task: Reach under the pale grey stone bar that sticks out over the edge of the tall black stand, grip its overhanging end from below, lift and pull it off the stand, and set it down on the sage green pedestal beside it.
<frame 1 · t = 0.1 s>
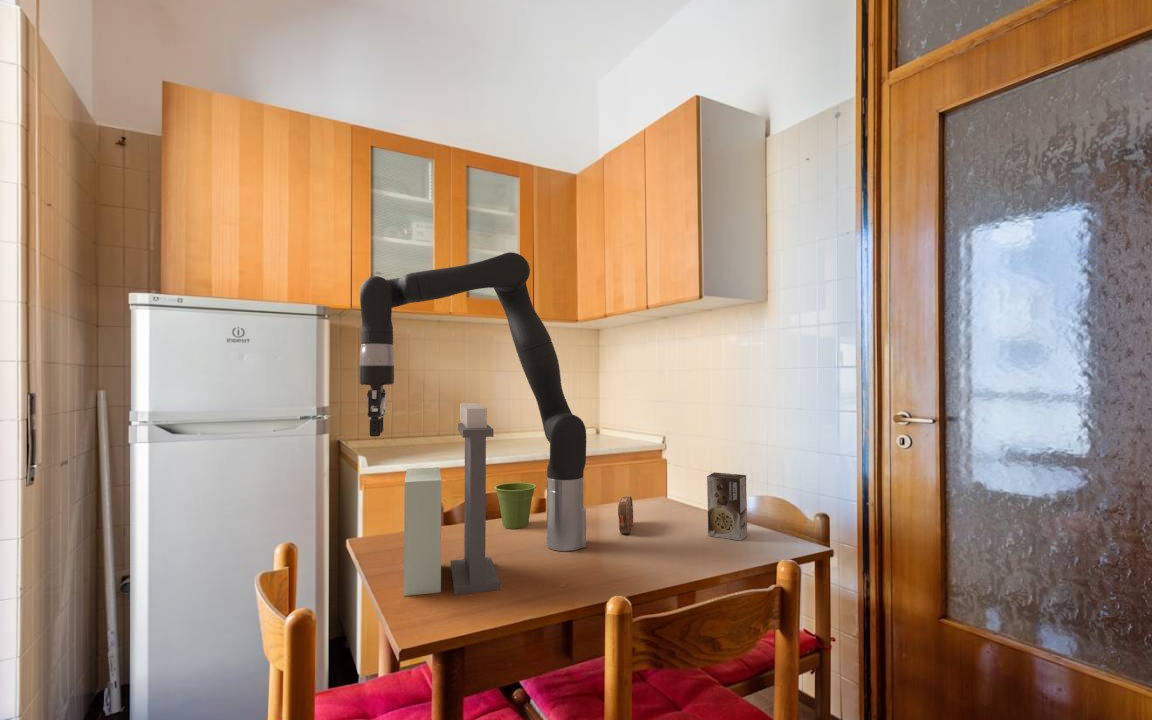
hand: (376, 434, 126), 29 cm above the table, tool pointing down, fingers open, 8 cm apart
pedestal: (422, 579, 115), on the table
plant pot: (515, 526, 156), on the table
tin: (625, 530, 153), on the table
tall stand: (474, 577, 116), on the table
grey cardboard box: (727, 536, 146), on the table
stone bar: (472, 423, 123), point 32 cm above the table, touching tall stand
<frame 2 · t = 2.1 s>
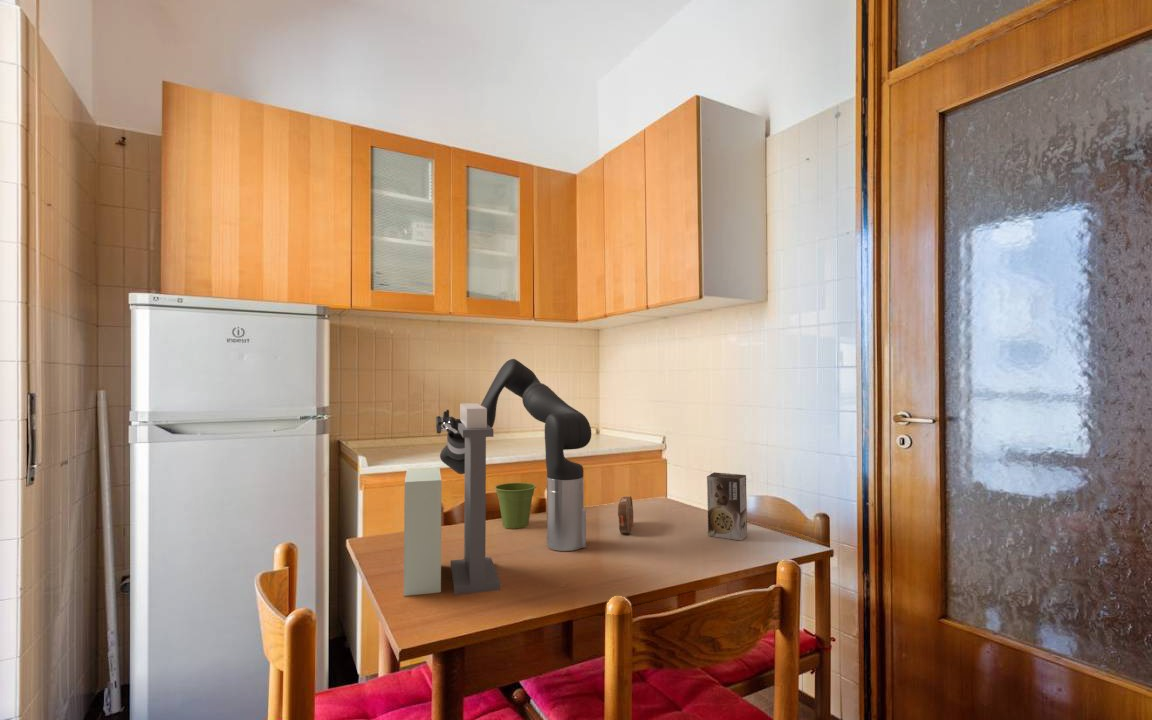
hand: (464, 412, 146), 33 cm above the table, tool pointing upward, fingers open, 8 cm apart
nothing on the table moved.
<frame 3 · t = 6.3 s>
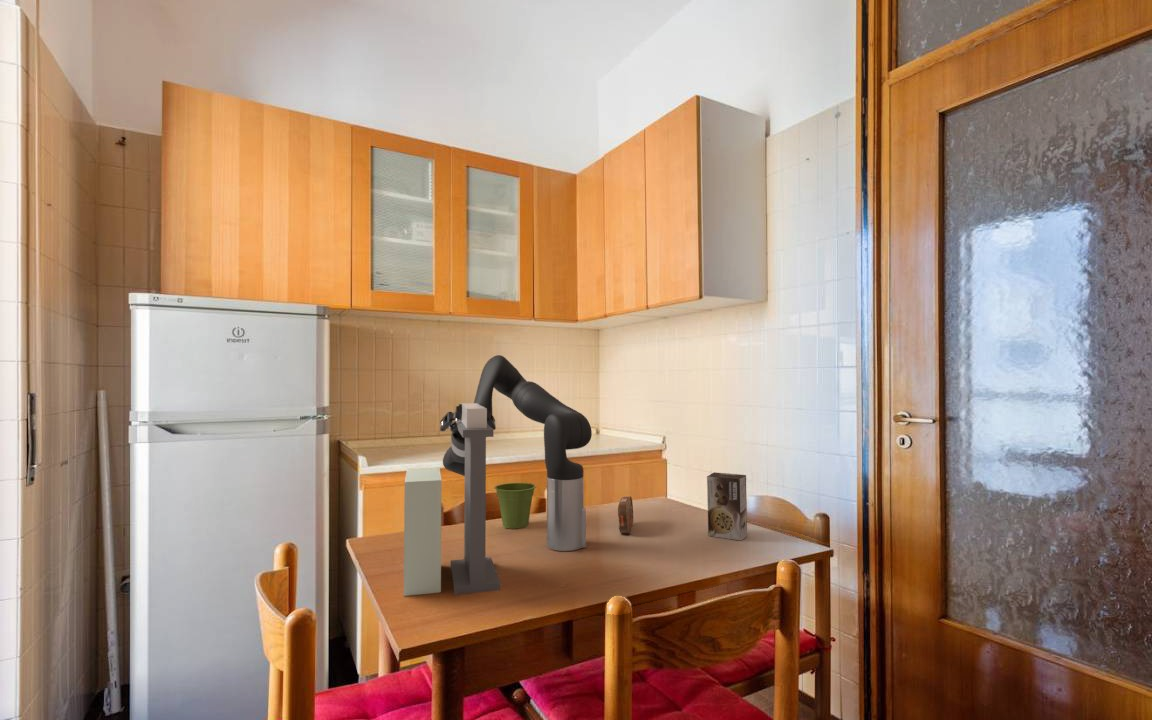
hand: (471, 407, 127), 35 cm above the table, tool pointing upward, fingers closed on stone bar, 4 cm apart
stone bar: (472, 423, 122), point 32 cm above the table, touching gripper, tall stand
everything else where it was.
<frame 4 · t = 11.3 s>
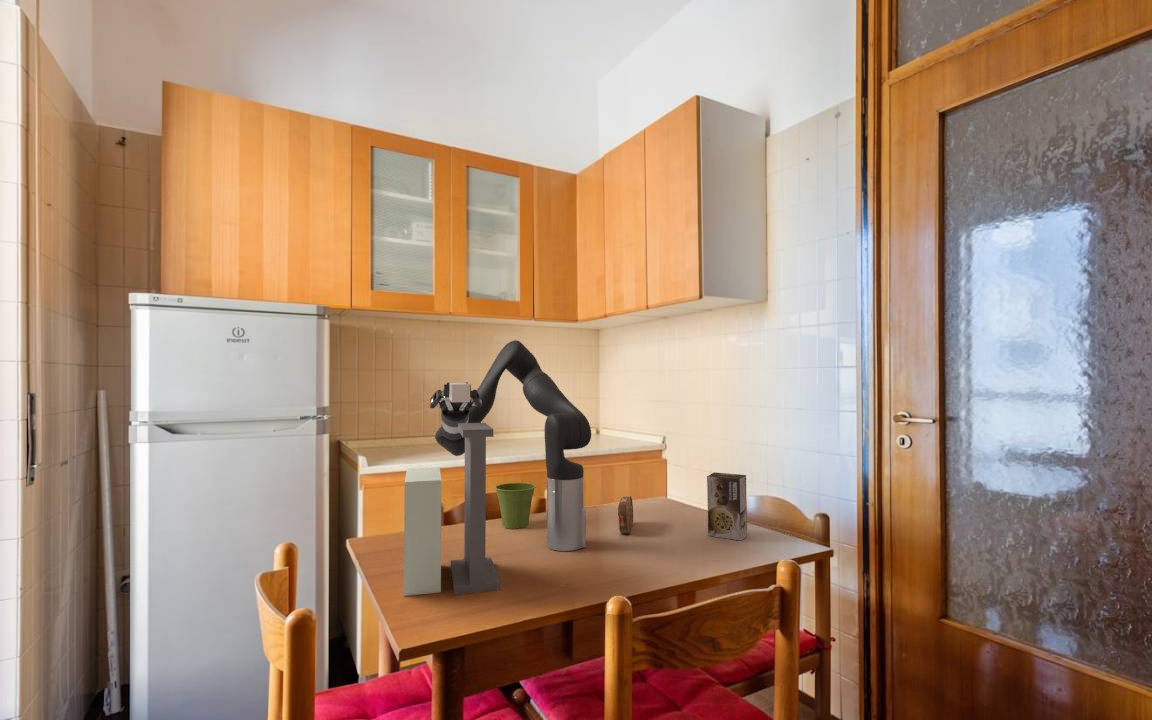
hand: (457, 385, 137), 40 cm above the table, tool pointing upward, fingers closed on stone bar, 4 cm apart
stone bar: (458, 399, 133), point 37 cm above the table, touching gripper
everything else where it was.
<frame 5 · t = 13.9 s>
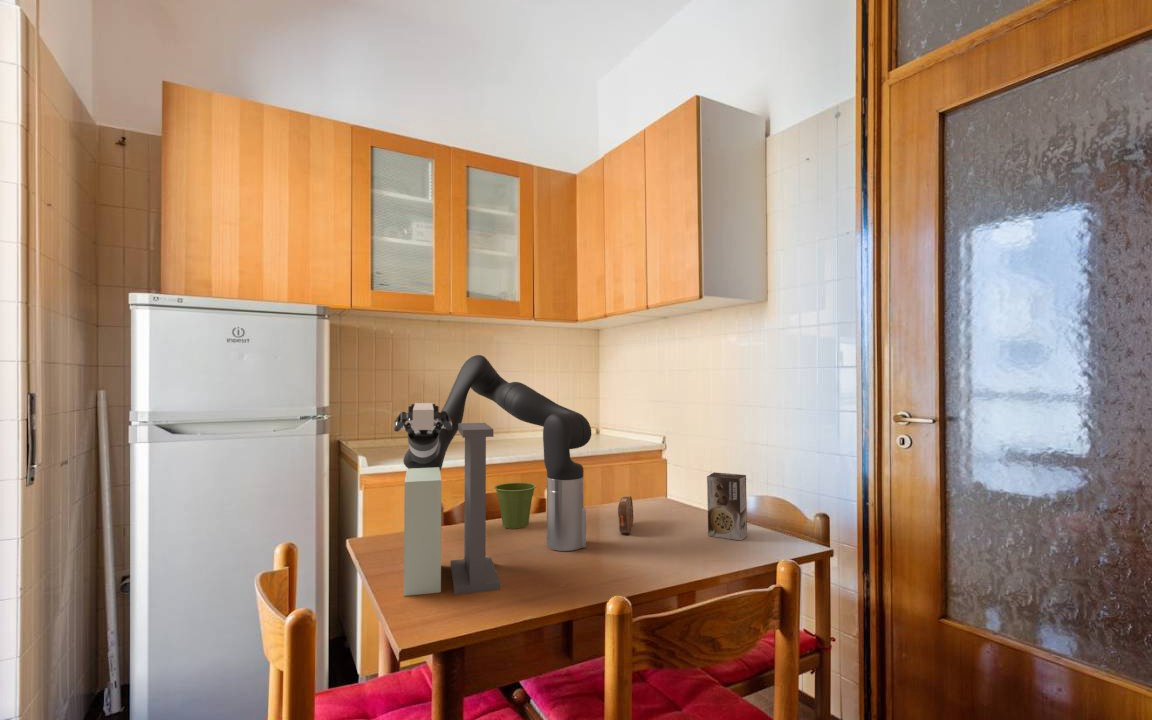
hand: (423, 407, 124), 35 cm above the table, tool pointing upward, fingers closed on stone bar, 4 cm apart
stone bar: (423, 424, 120), point 32 cm above the table, touching gripper
everything else where it was.
when the fingers open (27 cm above the table, at t = 16.1 s): stone bar drops 2 cm, resting on pedestal.
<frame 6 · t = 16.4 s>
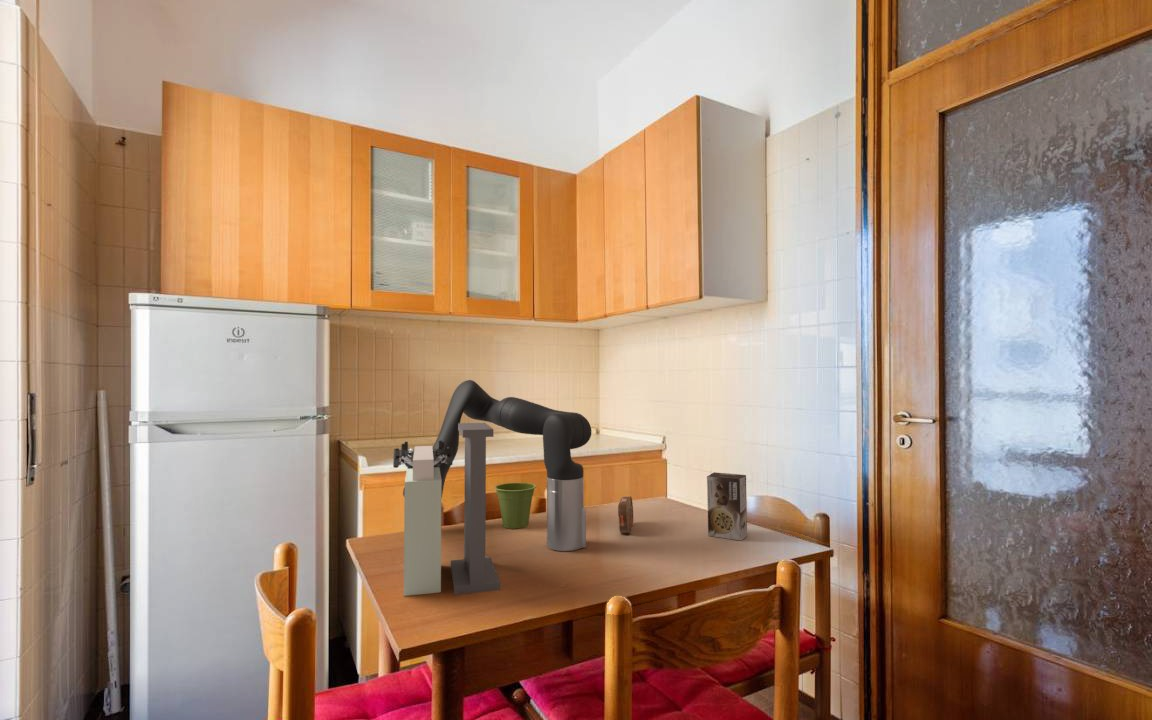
hand: (423, 444, 124), 27 cm above the table, tool pointing upward, fingers open, 7 cm apart
stone bar: (423, 470, 120), point 22 cm above the table, touching pedestal
everything else where it was.
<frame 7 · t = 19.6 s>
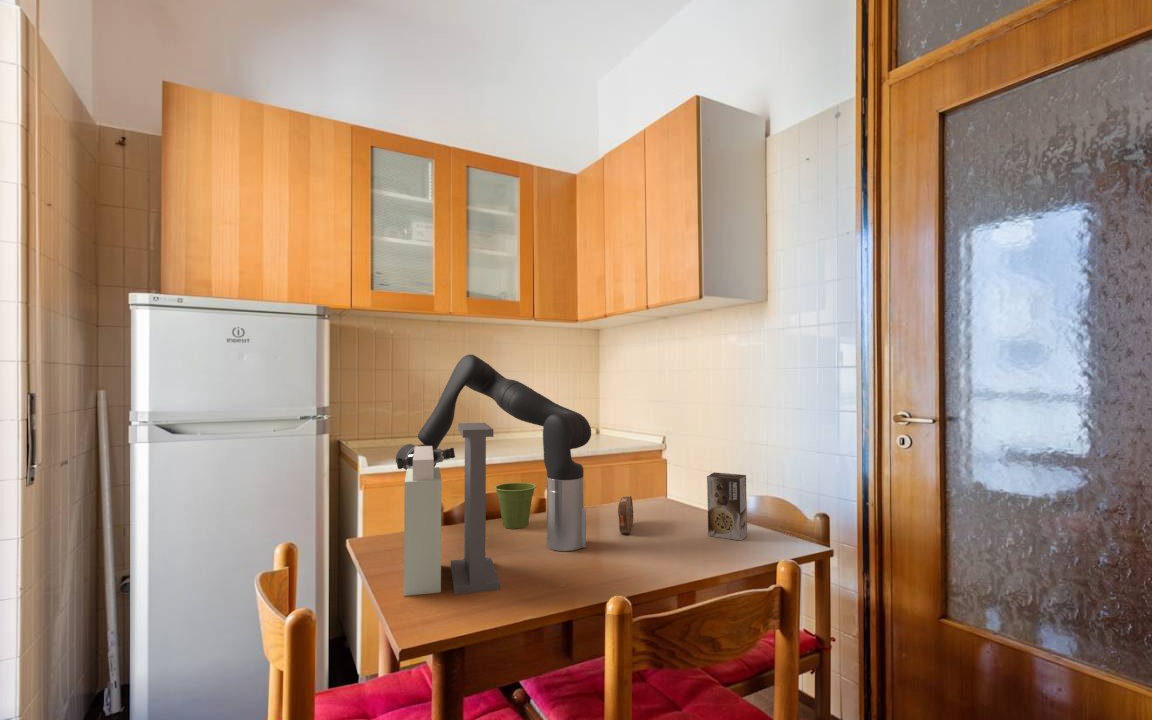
hand: (429, 457, 134), 23 cm above the table, tool horizontal, fingers open, 8 cm apart
nothing on the table moved.
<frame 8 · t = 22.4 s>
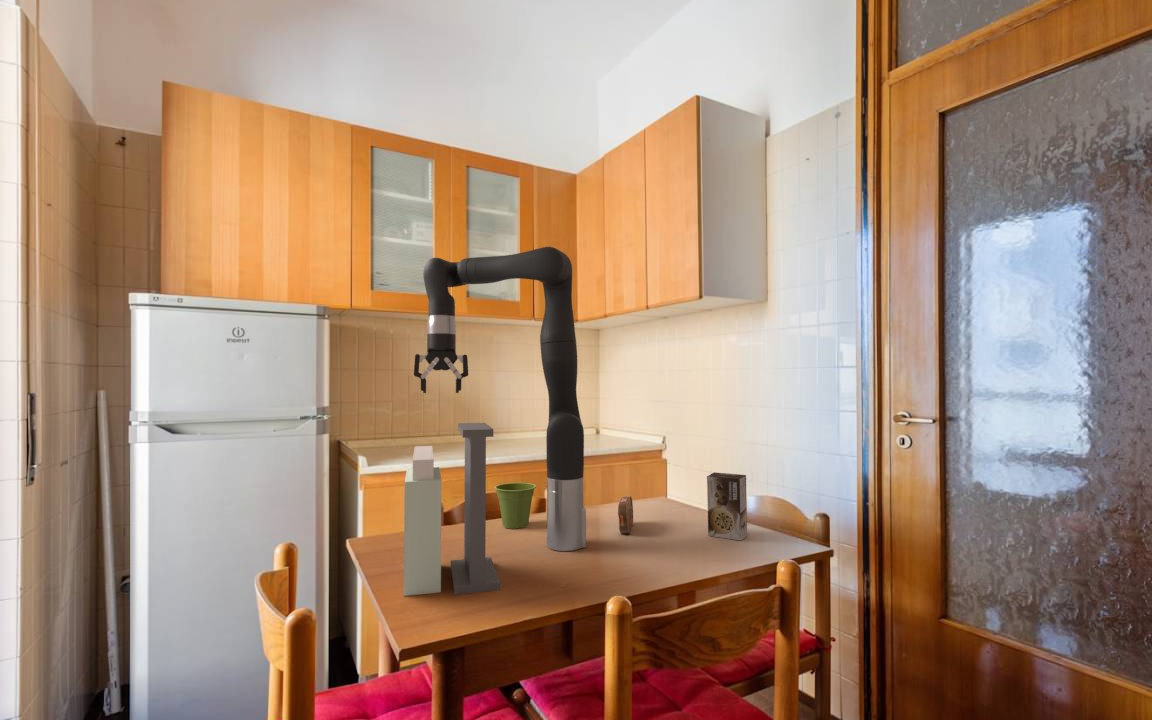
hand: (441, 392, 148), 38 cm above the table, tool pointing down, fingers open, 8 cm apart
nothing on the table moved.
at the end: stone bar inside the target area on the pedestal (0.6 cm from its centre), point 22.0 cm above the pedestal's base; stone bar touching pedestal; the gripper is holding nothing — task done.
